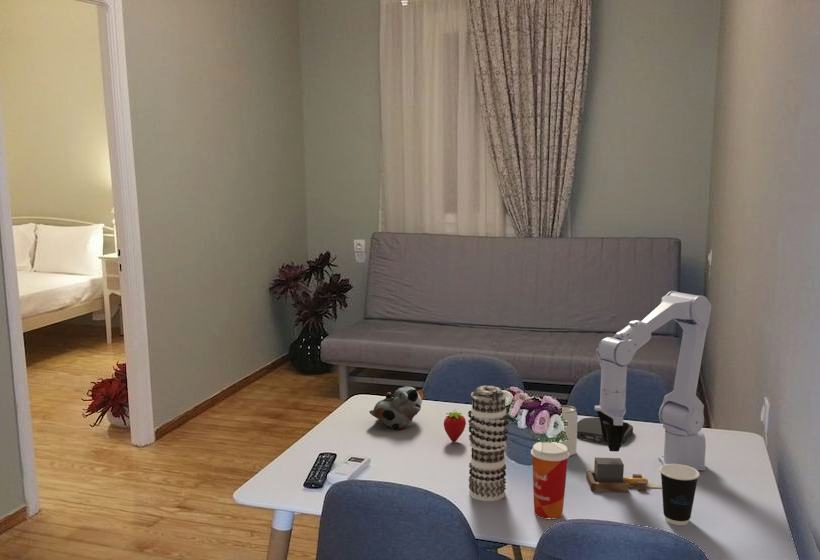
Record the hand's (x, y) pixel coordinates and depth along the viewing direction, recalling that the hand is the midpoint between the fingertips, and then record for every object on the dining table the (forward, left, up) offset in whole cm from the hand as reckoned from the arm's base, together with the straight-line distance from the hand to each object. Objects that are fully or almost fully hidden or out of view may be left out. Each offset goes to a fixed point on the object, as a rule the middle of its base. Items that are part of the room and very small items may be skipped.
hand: (610, 444), depth 173 cm
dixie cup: (-11, +17, -10) cm, 23 cm away
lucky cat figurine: (+54, -39, -10) cm, 68 cm away
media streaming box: (-5, -35, -10) cm, 37 cm away
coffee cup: (+16, +16, -10) cm, 25 cm away
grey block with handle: (-3, 0, -10) cm, 10 cm away
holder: (-4, 0, -10) cm, 11 cm away
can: (+8, -20, -10) cm, 24 cm away
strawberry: (+37, -25, -10) cm, 46 cm away
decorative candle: (+29, +7, -10) cm, 32 cm away
